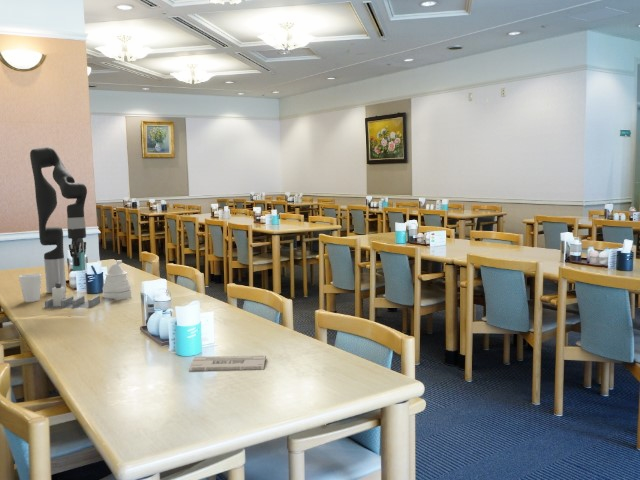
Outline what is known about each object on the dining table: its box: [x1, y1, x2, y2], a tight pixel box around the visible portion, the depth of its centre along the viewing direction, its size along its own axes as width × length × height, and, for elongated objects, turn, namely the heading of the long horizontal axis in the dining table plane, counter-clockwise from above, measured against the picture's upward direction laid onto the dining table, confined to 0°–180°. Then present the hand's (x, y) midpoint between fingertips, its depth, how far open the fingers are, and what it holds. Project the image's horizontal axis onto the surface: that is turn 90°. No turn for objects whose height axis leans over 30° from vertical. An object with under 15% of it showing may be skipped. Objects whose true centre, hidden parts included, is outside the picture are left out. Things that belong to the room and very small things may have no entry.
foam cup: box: [18, 273, 42, 303], centre depth 269 cm, size 10×9×13 cm
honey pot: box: [102, 259, 132, 301], centre depth 277 cm, size 13×13×18 cm
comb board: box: [42, 295, 102, 309], centre depth 258 cm, size 12×22×4 cm, turn 91°
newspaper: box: [188, 355, 267, 373], centre depth 174 cm, size 23×12×2 cm, turn 92°
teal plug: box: [71, 250, 86, 272], centre depth 260 cm, size 4×4×10 cm
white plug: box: [51, 283, 67, 306], centre depth 257 cm, size 4×4×10 cm
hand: (79, 265), depth 260 cm, fingers closed on teal plug, 4 cm apart
